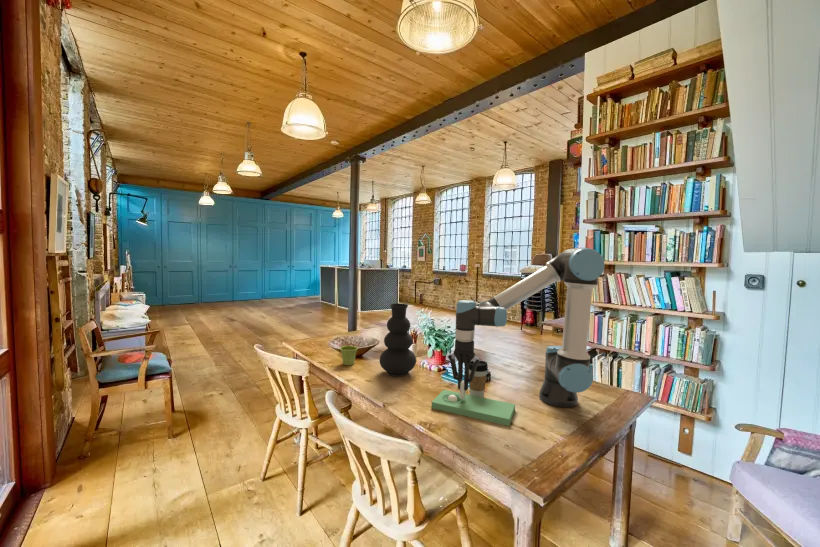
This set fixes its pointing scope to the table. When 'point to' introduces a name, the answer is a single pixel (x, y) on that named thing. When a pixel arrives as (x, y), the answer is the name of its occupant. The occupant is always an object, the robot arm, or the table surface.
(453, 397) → the ball
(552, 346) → the robot arm
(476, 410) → the block
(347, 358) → the plant pot
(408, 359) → the vase
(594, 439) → the table surface
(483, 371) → the coffee cup
